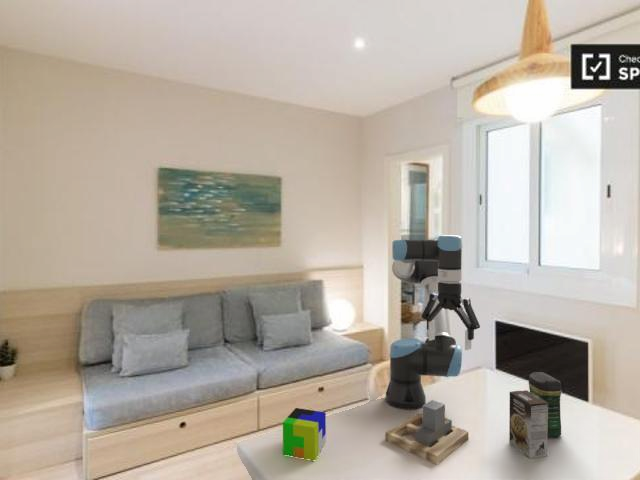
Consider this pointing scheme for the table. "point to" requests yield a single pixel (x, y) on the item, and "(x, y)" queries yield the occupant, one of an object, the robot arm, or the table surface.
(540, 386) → the coffee jar
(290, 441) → the puzzle toy
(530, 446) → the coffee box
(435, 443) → the keyhole board
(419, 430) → the grey stepped block
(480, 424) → the table surface
